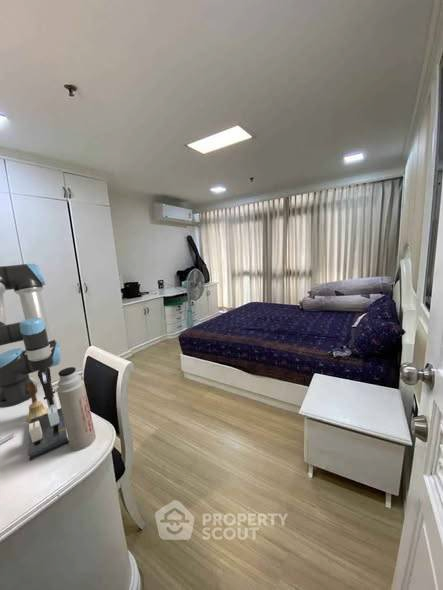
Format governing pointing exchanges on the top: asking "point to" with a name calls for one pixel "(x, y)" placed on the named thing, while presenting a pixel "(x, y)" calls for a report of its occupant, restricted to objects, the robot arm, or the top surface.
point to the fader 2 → (53, 416)
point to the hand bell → (35, 404)
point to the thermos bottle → (75, 409)
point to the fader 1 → (35, 431)
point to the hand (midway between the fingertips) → (53, 410)
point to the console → (48, 436)
